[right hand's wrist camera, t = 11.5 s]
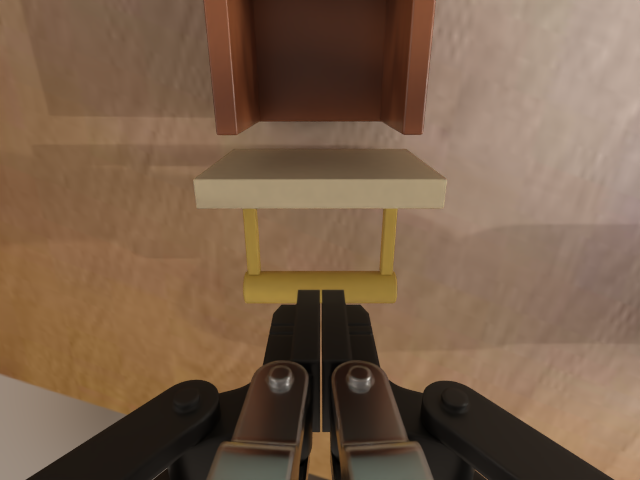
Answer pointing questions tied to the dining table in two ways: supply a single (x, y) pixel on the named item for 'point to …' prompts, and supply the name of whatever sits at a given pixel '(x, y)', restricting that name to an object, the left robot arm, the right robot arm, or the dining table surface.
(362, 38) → the drawer
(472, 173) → the dining table surface
